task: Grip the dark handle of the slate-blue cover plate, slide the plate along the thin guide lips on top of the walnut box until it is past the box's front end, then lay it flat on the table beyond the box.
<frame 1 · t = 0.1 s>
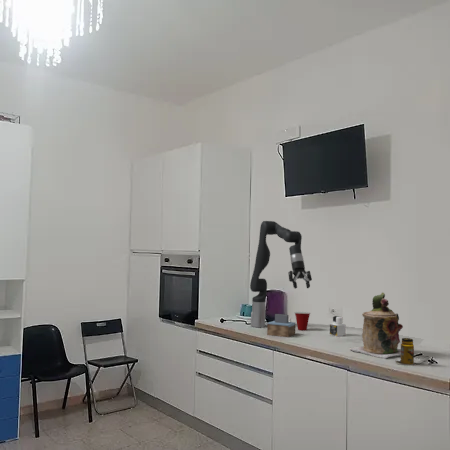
hand: (302, 288, 295), 31 cm above the worktop, tool tilted 20°, fingers open, 8 cm apart
medicine bottle: (337, 335, 318), on the worktop
plastic cup: (302, 330, 336), on the worktop
condiment: (405, 363, 242), on the worktop
wooden box: (281, 334, 316), on the worktop
cover plate: (281, 325, 316), point 6 cm above the worktop, touching wooden box
cookie jar: (381, 353, 267), on the worktop
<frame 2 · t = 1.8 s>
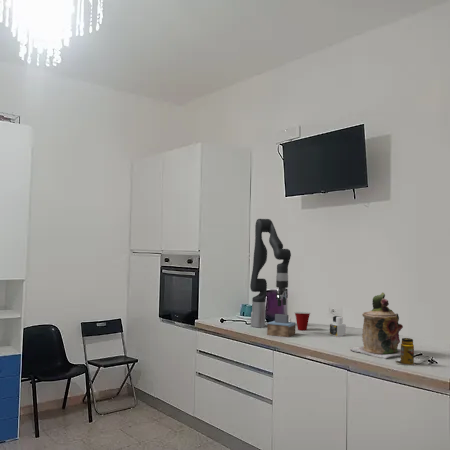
hand: (281, 305, 316), 18 cm above the worktop, tool pointing down, fingers open, 8 cm apart
nothing on the worktop moved.
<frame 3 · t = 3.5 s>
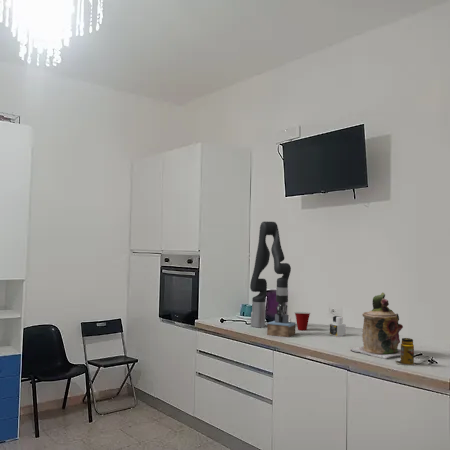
hand: (281, 321, 316), 8 cm above the worktop, tool pointing down, fingers closed on cover plate, 3 cm apart
cover plate: (281, 325, 316), point 6 cm above the worktop, touching gripper, wooden box
everything else where it was.
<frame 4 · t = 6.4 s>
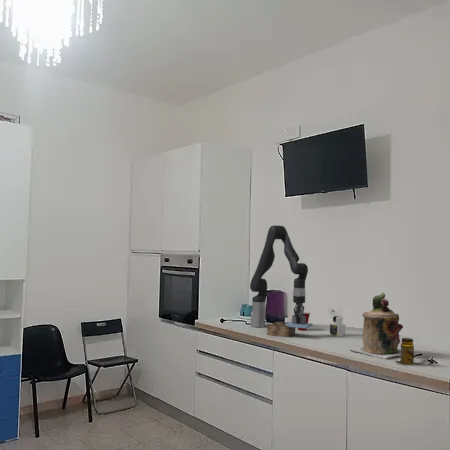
hand: (298, 322, 310), 8 cm above the worktop, tool pointing down, fingers closed on cover plate, 3 cm apart
cover plate: (298, 326, 310), point 6 cm above the worktop, touching gripper
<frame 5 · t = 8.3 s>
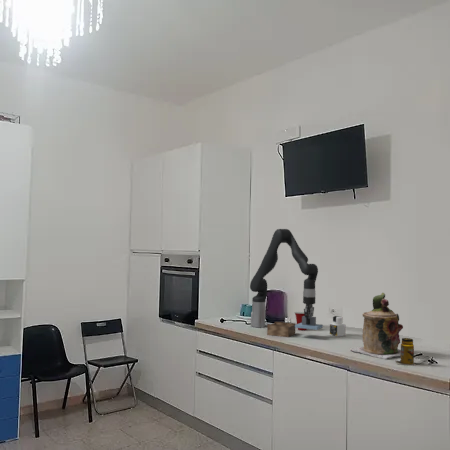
hand: (308, 323, 308), 8 cm above the worktop, tool pointing down, fingers closed on cover plate, 3 cm apart
cover plate: (308, 327, 308), point 6 cm above the worktop, touching gripper
when the fingers open (5 cm above the worktop, at t = 9.6 s): cover plate drops 3 cm, on the worktop.
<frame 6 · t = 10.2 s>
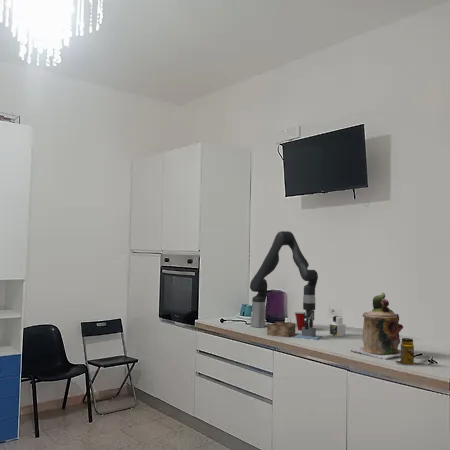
hand: (308, 328, 307), 6 cm above the worktop, tool pointing down, fingers open, 8 cm apart
cover plate: (308, 338, 307), on the worktop
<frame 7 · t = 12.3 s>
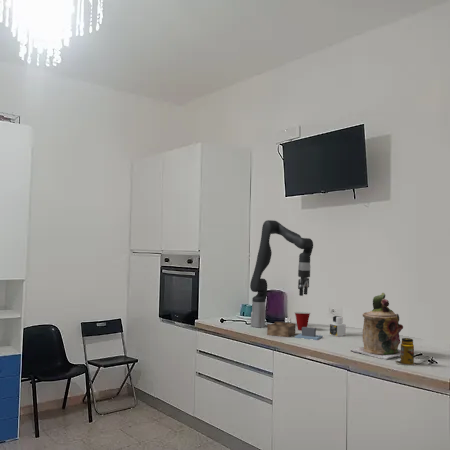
hand: (303, 295, 316), 25 cm above the worktop, tool pointing down, fingers open, 8 cm apart
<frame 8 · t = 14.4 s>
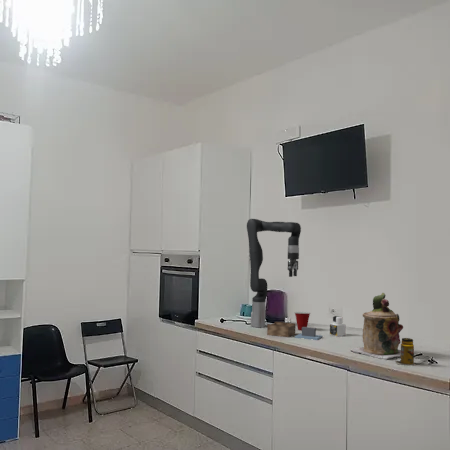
hand: (292, 276, 332), 36 cm above the worktop, tool pointing down, fingers open, 8 cm apart
at the end: cover plate inside the target area (0.6 cm from its centre), on the worktop; cover plate tilted 0°; cover plate touching worktop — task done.
